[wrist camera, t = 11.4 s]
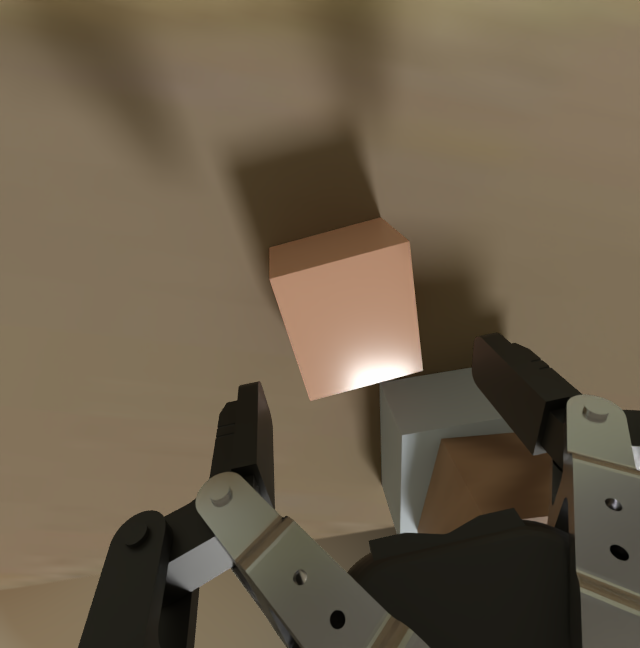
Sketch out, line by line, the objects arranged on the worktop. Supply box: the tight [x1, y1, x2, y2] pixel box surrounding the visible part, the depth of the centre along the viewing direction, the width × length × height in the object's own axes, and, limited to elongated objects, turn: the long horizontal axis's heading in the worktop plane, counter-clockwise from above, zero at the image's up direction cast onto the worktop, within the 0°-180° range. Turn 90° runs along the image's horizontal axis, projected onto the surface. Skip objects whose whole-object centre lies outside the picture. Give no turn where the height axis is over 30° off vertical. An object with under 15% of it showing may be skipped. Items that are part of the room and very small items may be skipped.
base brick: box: [380, 368, 514, 534], centre depth 25 cm, size 9×11×5 cm
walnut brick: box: [417, 433, 551, 534], centre depth 21 cm, size 6×9×5 cm, turn 179°
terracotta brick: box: [269, 217, 423, 401], centre depth 18 cm, size 6×7×4 cm
